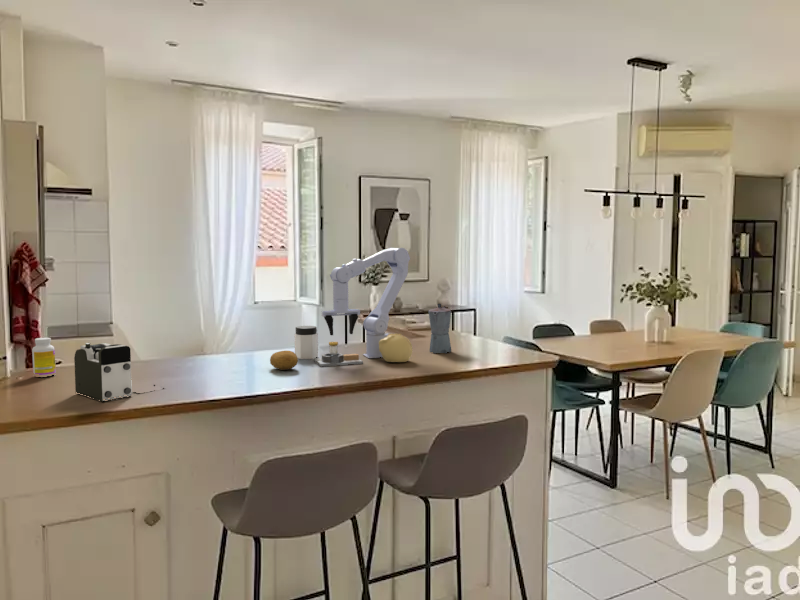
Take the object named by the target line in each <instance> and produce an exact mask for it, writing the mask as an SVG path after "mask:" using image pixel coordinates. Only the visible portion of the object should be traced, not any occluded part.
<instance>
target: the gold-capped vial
mask: <svg viewBox="0 0 800 600" xmlns="http://www.w3.org/2000/svg"><path fill="white" fill-rule="evenodd" d="M328 345H329V353H330V356H338V353H339V352H338V351H339V350H338V345H339V342H338V341H329V342H328Z"/></svg>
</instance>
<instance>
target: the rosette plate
mask: <svg viewBox="0 0 800 600" xmlns="http://www.w3.org/2000/svg"><path fill="white" fill-rule="evenodd" d="M359 357H360V356H359V354H358V353H350V354H343V353H339V352H338V356H330V352H327V353H323V354H321V357H317V358H313V359H312V360H313V362H314V363H315V364H316V363H317V365H318V366H319V367H320V368H323V367H322V366H325V367H336V366H335V365H340V366H349V365H348V364H354V365H363V364H364V361H363V360H361V359H360V358H359Z"/></svg>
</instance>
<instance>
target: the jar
mask: <svg viewBox="0 0 800 600" xmlns="http://www.w3.org/2000/svg"><path fill="white" fill-rule="evenodd" d="M317 328H318V327H317V326H315V325H299V326H295V333H294V353H295V354H296V356H297V358H298V360H313V358H316V357H317V358H319V342H318V341H319V333H317V331H318V330H317Z"/></svg>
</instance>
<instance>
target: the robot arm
mask: <svg viewBox="0 0 800 600" xmlns="http://www.w3.org/2000/svg"><path fill="white" fill-rule="evenodd" d="M410 260H411V256H410V254H409V251H408V250H407V248H405V247H388V248H387V249H382V250H380V251H378V252H376V253H375V254H373V255H370V256H368V257H366V258H365V259H361V258H352V261H349V262H348V263H343V264H341V267H340V266H338V267H334V268H333V269H332V270H331V272H330V274H329V277H330V280H331V281H332V294H333V295H332V301H333V302H332V303H333V304H332V305H333V309H331V310H330V309H329V310H322V311H321V316H322V317H323V318H324V320H325V322H326V324H327V326H328V330H329V335H330V336H334V317H336V316H337V317H338V316H348V323H349V325H348V326H349V329H348V333H349V334H350V335H353V334H354V329H355V326H356V323H357V321H358V320H359V316H360V315H361V309H356V308H355V309H349V282H350V280H351V279H352V278H355V277H358V276H359V275H362V274H363V273H365V272H366V270H367V268H370V267H371V266H374V265H376V264H379V263H382V262H386V263H387V265H388V266H389V267H390V269H391V271H392V274H391V277H390V278H389V280H388V283H387V285H386V287H385V288H384V291H383V293H382V294H381V296H380V299H379V300H378V303H377V305H376V307H375V308H374V309H372V310H371V311H369V312H370V313H369V314H368V316H366V317H365V318H364V319H363V324H362V325H363V329H364V330H365V331H366V336H365V337H366V342H365V343H366V345H365V347H366V349H365V350H366V353H363V354H362V355H363V356H364V357H366V358H367V359H377V358H379V359H380V357H381V358H383V356H382V354H381V352H380V351H379V341H380V340H381V339H384V338H385V337H387V336H388V335H389V334H390V333H386V331H387V329H388V327H389V321H390V315H389V313H390V311H391V309H392V307H393V305H394V303H395V301H396V299H397V297H398V294H399V293H400V291H401V288H402V287H403V284H404V283H405V280H406V279H407V276H408V273H409V262H410Z"/></svg>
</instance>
